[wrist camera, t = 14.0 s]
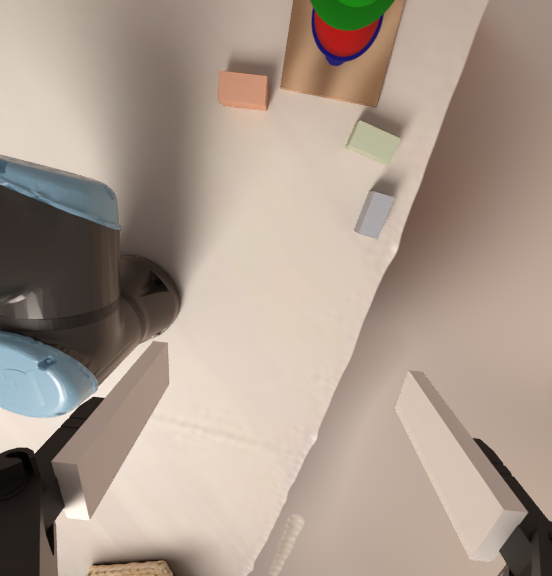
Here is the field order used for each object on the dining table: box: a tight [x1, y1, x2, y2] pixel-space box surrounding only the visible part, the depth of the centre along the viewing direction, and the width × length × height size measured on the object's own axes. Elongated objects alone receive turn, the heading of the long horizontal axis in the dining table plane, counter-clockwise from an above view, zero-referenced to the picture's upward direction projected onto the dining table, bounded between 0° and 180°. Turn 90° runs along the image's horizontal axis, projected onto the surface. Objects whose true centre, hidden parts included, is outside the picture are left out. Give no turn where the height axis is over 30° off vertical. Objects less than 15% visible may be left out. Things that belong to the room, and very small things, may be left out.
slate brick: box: [354, 191, 395, 239], centre depth 39 cm, size 6×3×3 cm, turn 164°
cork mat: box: [280, 0, 405, 107], centre depth 33 cm, size 13×13×1 cm
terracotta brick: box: [218, 71, 269, 111], centre depth 34 cm, size 6×3×3 cm, turn 84°
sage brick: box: [345, 120, 401, 164], centre depth 36 cm, size 6×3×3 cm, turn 69°
